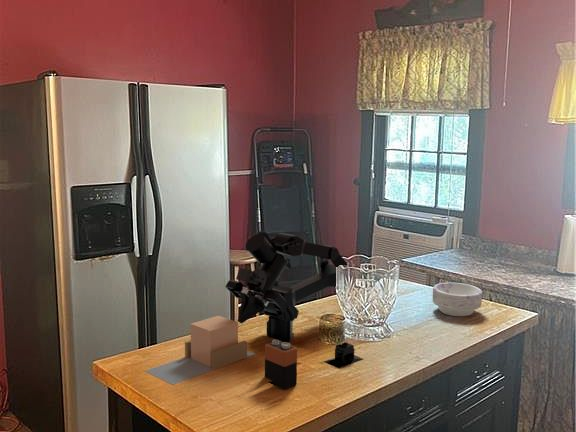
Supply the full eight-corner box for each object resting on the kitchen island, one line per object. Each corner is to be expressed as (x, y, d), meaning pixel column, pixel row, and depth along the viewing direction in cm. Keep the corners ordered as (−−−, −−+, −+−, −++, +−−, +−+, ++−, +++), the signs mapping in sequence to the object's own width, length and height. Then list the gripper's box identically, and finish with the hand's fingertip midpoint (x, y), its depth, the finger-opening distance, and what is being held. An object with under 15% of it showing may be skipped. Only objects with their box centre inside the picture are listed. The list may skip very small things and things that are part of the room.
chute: (227, 347, 165) (226, 328, 164) (255, 358, 157) (255, 338, 156) (144, 375, 146) (144, 354, 145) (172, 389, 138) (172, 367, 138)
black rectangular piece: (351, 352, 163) (352, 336, 162) (371, 361, 158) (372, 344, 157) (317, 363, 155) (317, 346, 155) (337, 373, 150) (337, 355, 149)
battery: (284, 390, 138) (284, 348, 137) (263, 381, 143) (263, 340, 142) (297, 385, 141) (298, 343, 140) (277, 376, 146) (277, 336, 145)
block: (218, 348, 160) (218, 315, 159) (238, 356, 155) (237, 322, 154) (191, 358, 153) (190, 323, 152) (210, 366, 148) (210, 331, 147)
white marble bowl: (479, 322, 187) (480, 297, 186) (428, 316, 192) (429, 291, 191) (482, 308, 201) (484, 284, 200) (435, 303, 206) (436, 280, 205)
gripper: (229, 250, 167) (198, 298, 160) (279, 261, 154) (248, 314, 148) (251, 273, 174) (222, 320, 167) (300, 285, 161) (271, 337, 155)
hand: (239, 322), depth 159 cm, fingers closed
